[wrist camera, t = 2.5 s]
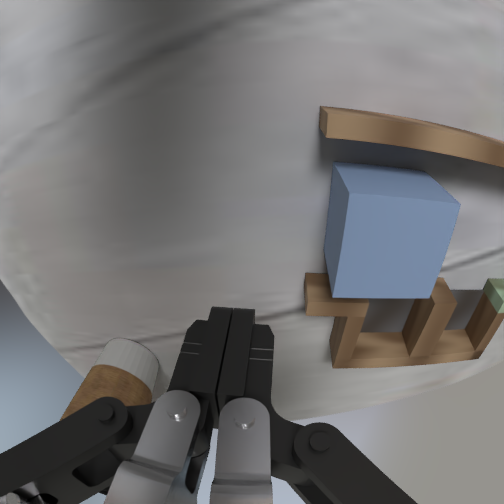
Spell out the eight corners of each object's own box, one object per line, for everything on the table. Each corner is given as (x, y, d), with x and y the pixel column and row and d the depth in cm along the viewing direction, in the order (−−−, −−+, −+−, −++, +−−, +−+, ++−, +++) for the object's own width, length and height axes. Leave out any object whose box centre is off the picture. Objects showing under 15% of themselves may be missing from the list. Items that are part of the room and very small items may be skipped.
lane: (296, 339, 25) (296, 367, 23) (320, 106, 16) (328, 113, 13) (487, 333, 24) (498, 355, 22) (557, 161, 14) (580, 176, 12)
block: (332, 160, 18) (349, 193, 13) (423, 170, 17) (460, 204, 13) (323, 248, 21) (332, 297, 17) (405, 251, 20) (429, 298, 16)
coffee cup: (160, 334, 27) (106, 489, 14) (178, 385, 31) (145, 512, 19) (84, 323, 28) (18, 450, 15) (111, 374, 32) (68, 485, 20)
